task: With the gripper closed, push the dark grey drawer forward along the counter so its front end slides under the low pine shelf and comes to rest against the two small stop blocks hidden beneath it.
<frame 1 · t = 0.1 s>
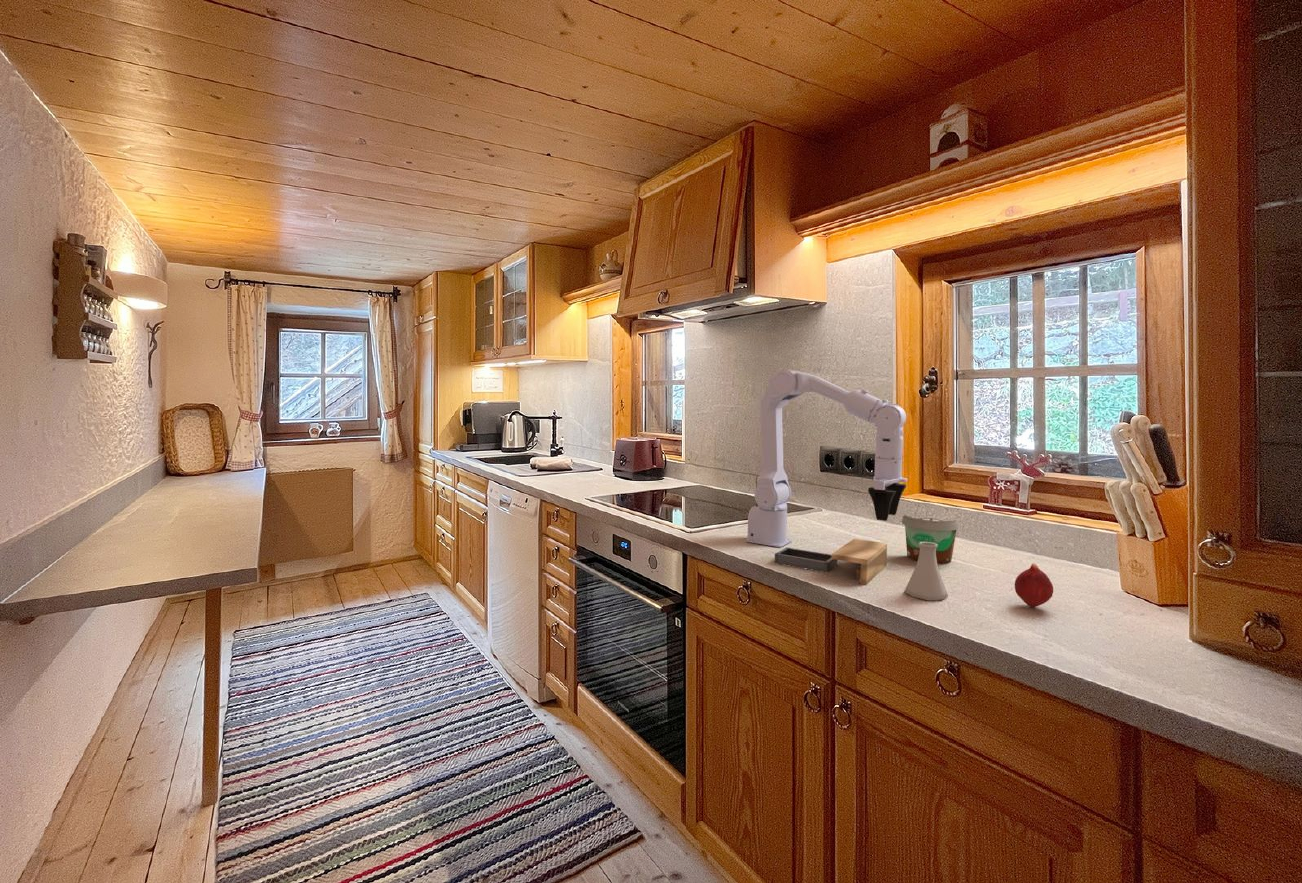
hand: (886, 517, 136), 10 cm above the countertop, tool pointing down, fingers open, 7 cm apart
food container: (928, 562, 136), on the countertop
flask: (925, 596, 114), on the countertop
onion: (1032, 608, 107), on the countertop
pine shelf: (858, 572, 127), on the countertop
dark grey drawer: (805, 565, 134), on the countertop
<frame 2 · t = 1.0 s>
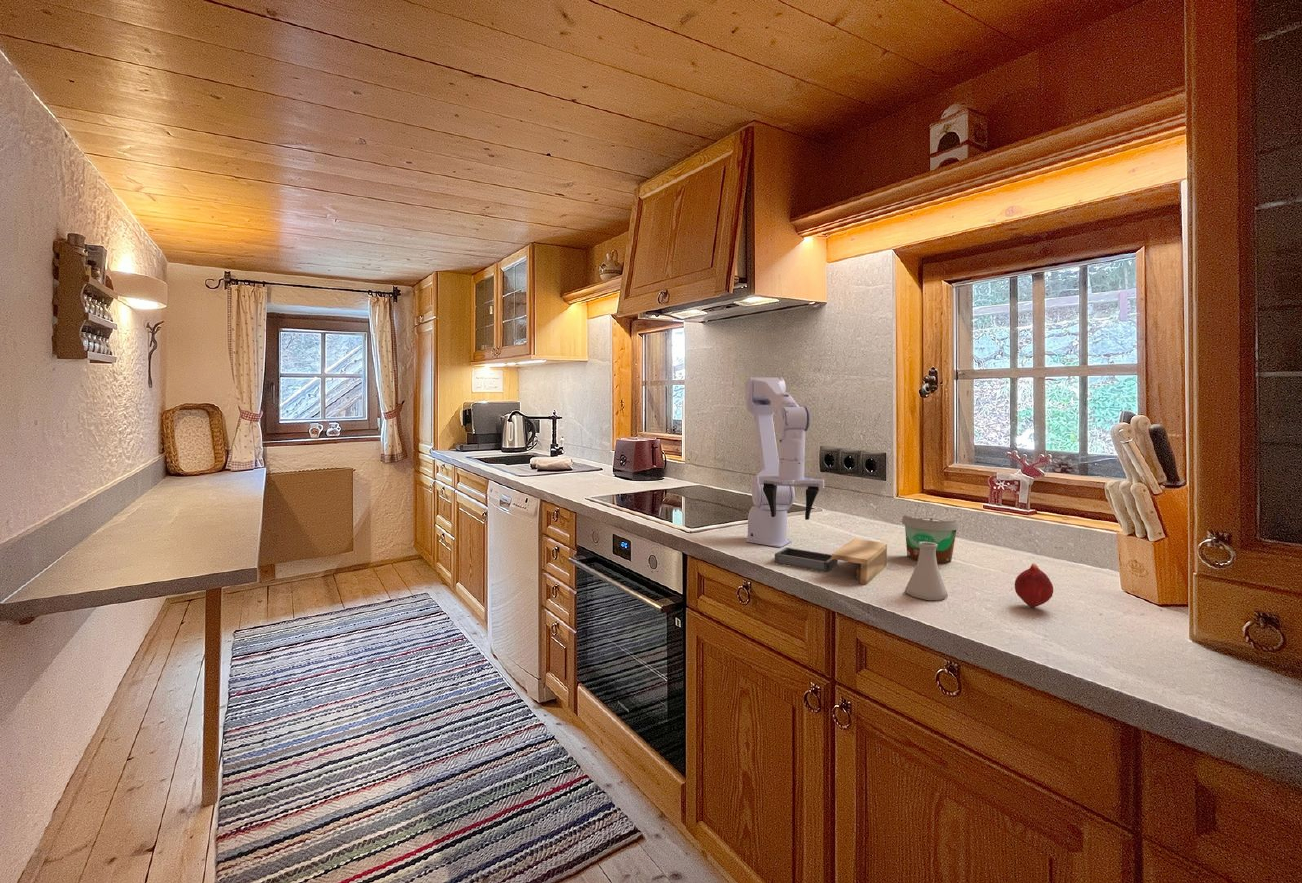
hand: (790, 517, 138), 9 cm above the countertop, tool pointing down, fingers open, 7 cm apart
nothing on the countertop moved.
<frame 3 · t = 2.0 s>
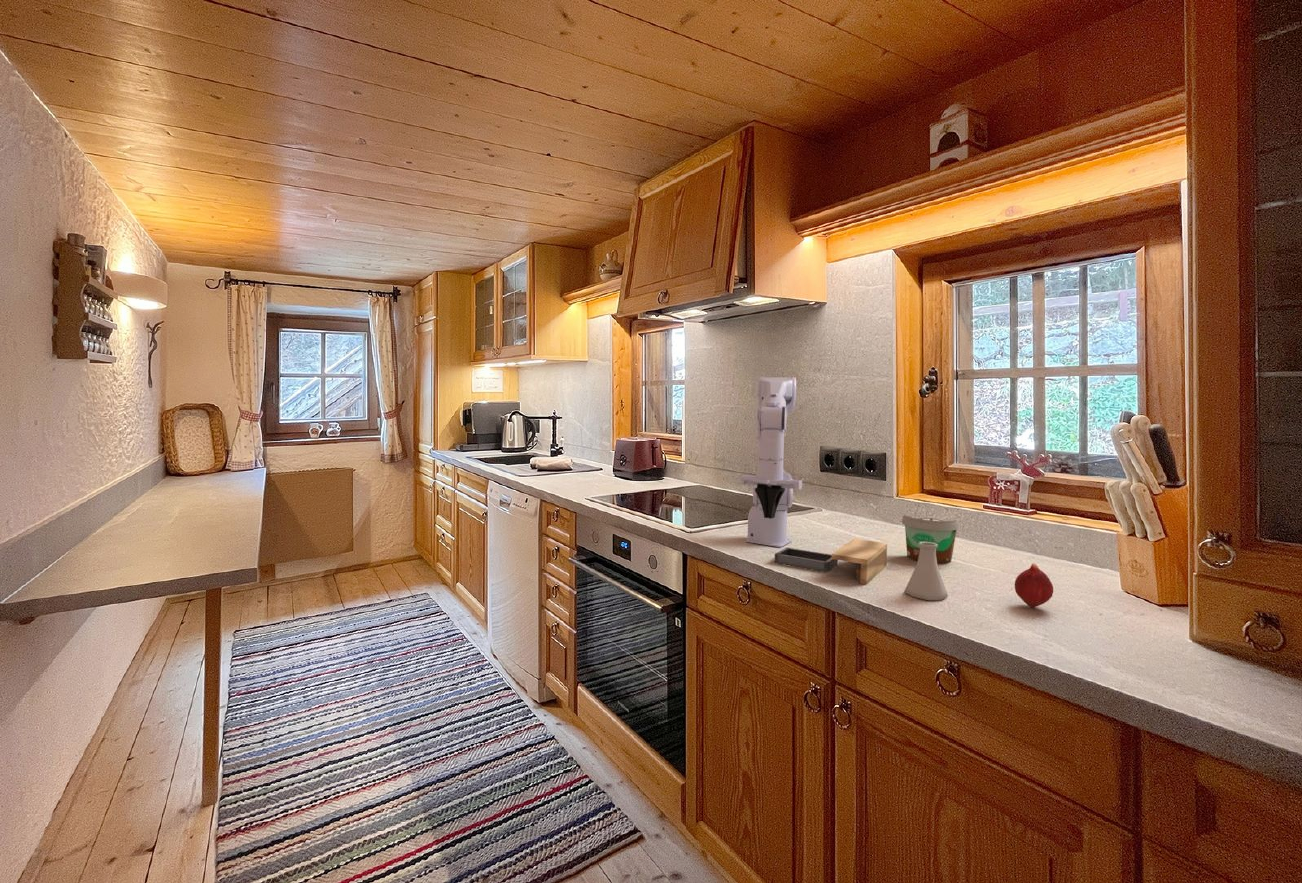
hand: (769, 517, 138), 9 cm above the countertop, tool pointing down, fingers closed
nothing on the countertop moved.
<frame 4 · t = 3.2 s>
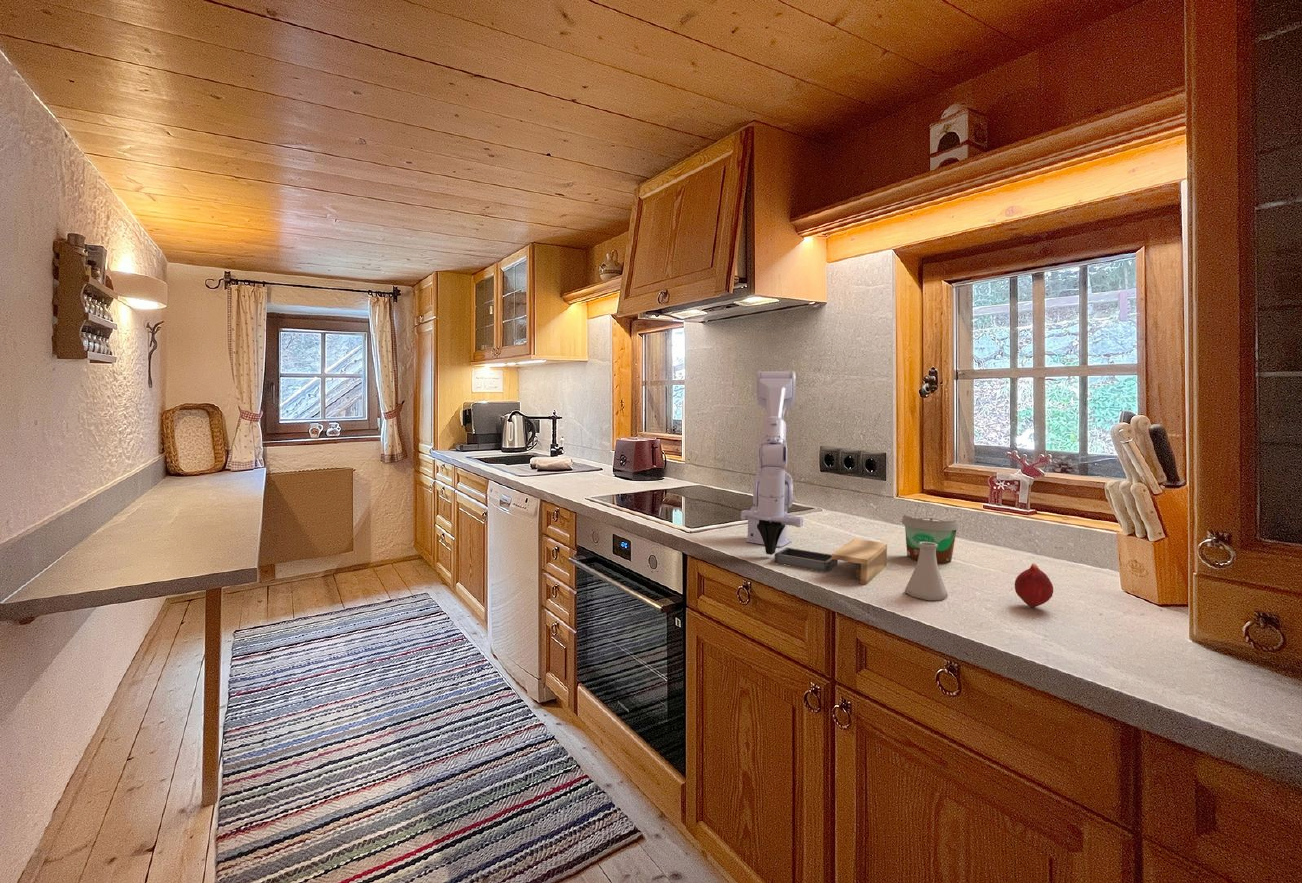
hand: (770, 553, 139), 1 cm above the countertop, tool pointing down, fingers closed
nothing on the countertop moved.
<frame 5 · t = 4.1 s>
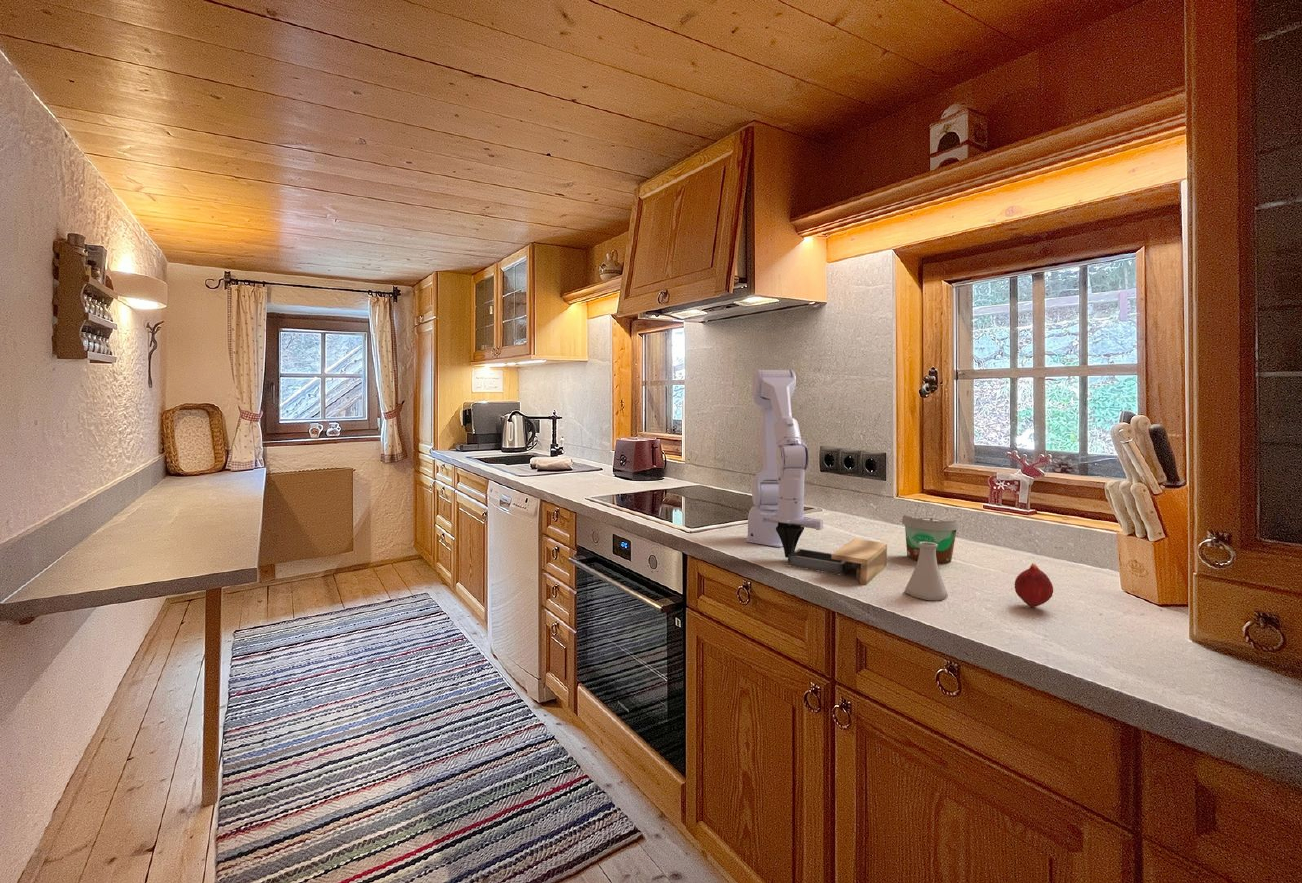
hand: (789, 556, 136), 1 cm above the countertop, tool pointing down, fingers closed
dark grey drawer: (819, 567, 132), on the countertop, touching gripper
everything else where it was.
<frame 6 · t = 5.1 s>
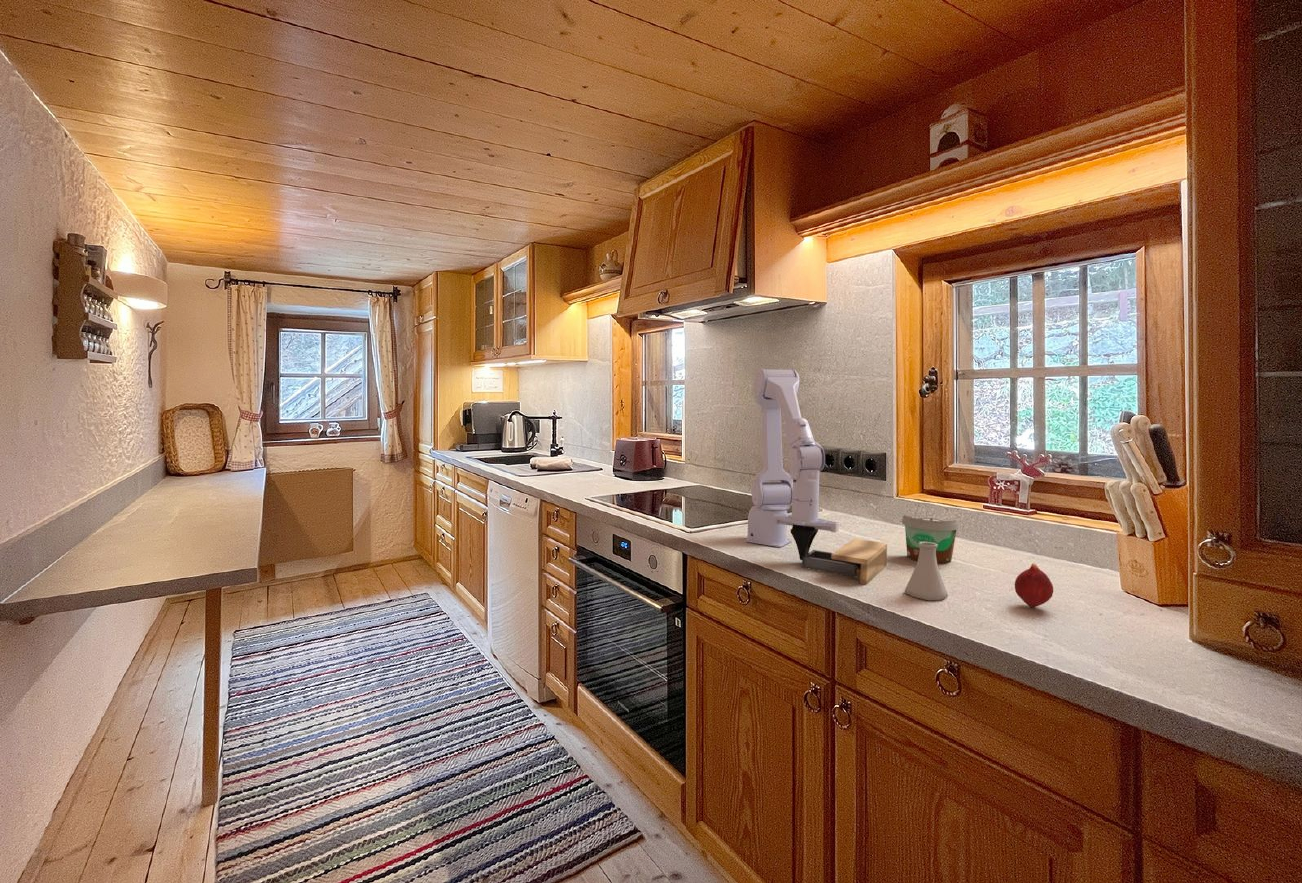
hand: (803, 559, 134), 1 cm above the countertop, tool pointing down, fingers closed
dark grey drawer: (834, 568, 131), on the countertop, touching gripper, pine shelf
everything else where it was.
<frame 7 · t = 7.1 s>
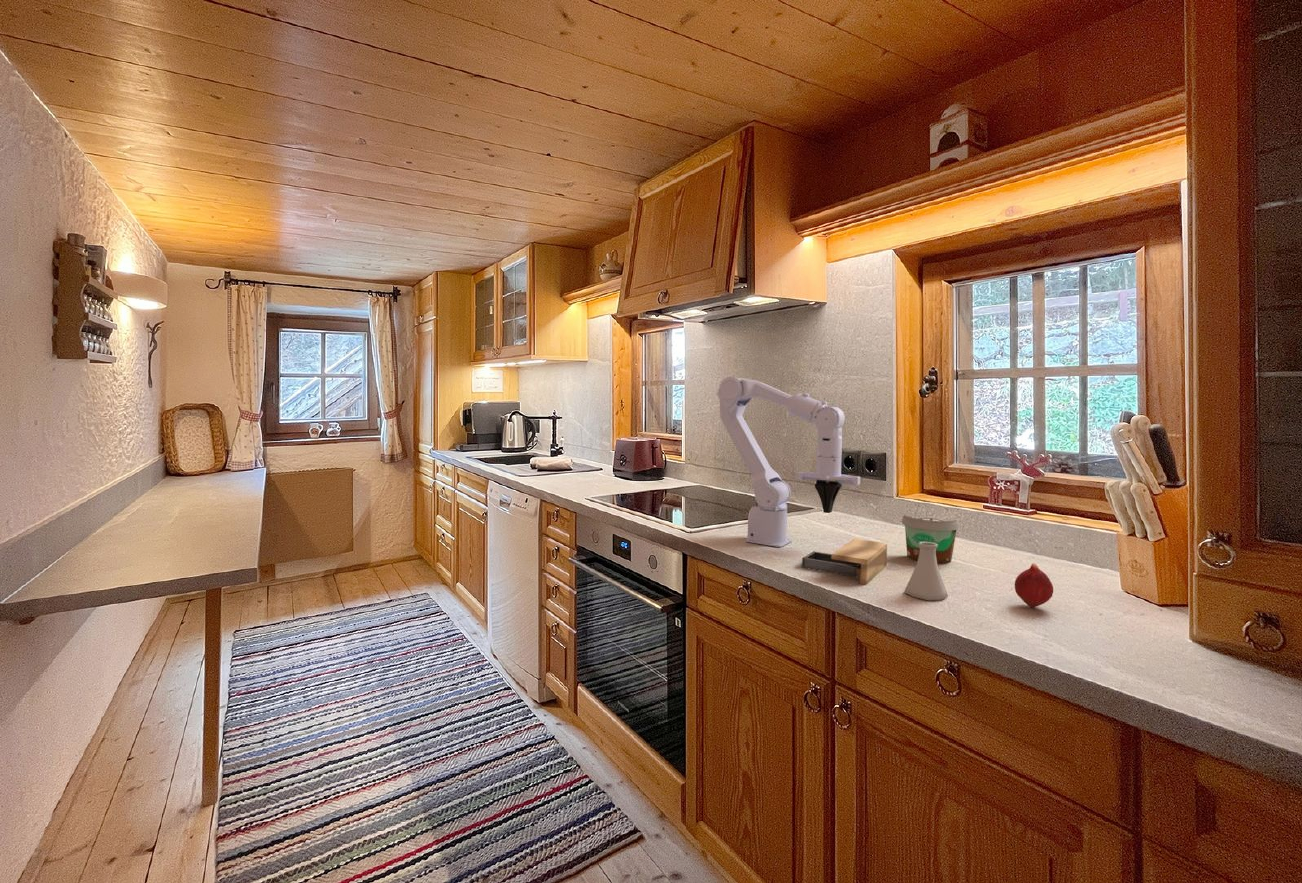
hand: (827, 512, 145), 9 cm above the countertop, tool pointing down, fingers closed
dark grey drawer: (834, 570, 131), on the countertop
everything else where it was.
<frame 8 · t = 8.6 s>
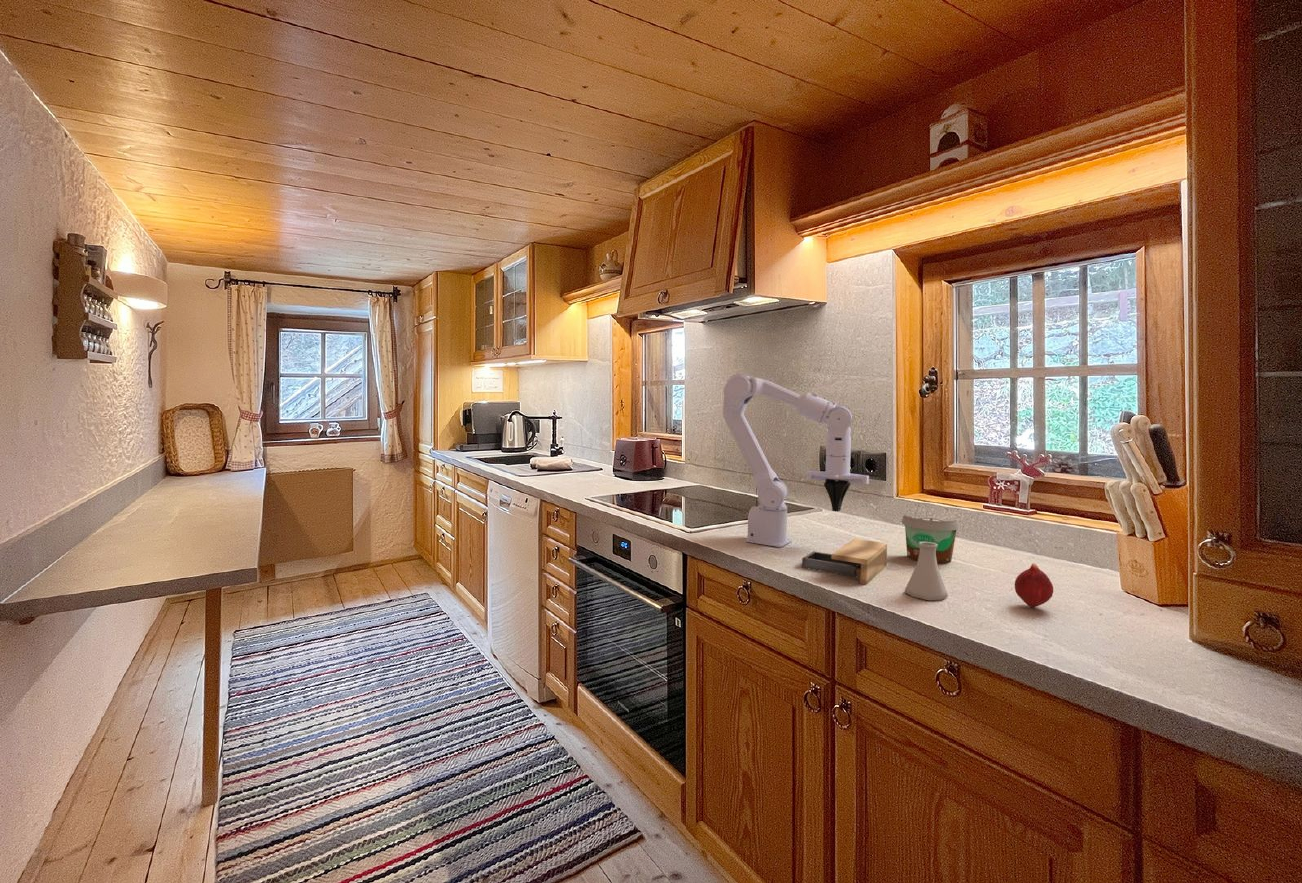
hand: (836, 510, 147), 9 cm above the countertop, tool pointing down, fingers closed
nothing on the countertop moved.
at the end: dark grey drawer 0.4 cm from the target spot, on the countertop; dark grey drawer tilted 0° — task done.
